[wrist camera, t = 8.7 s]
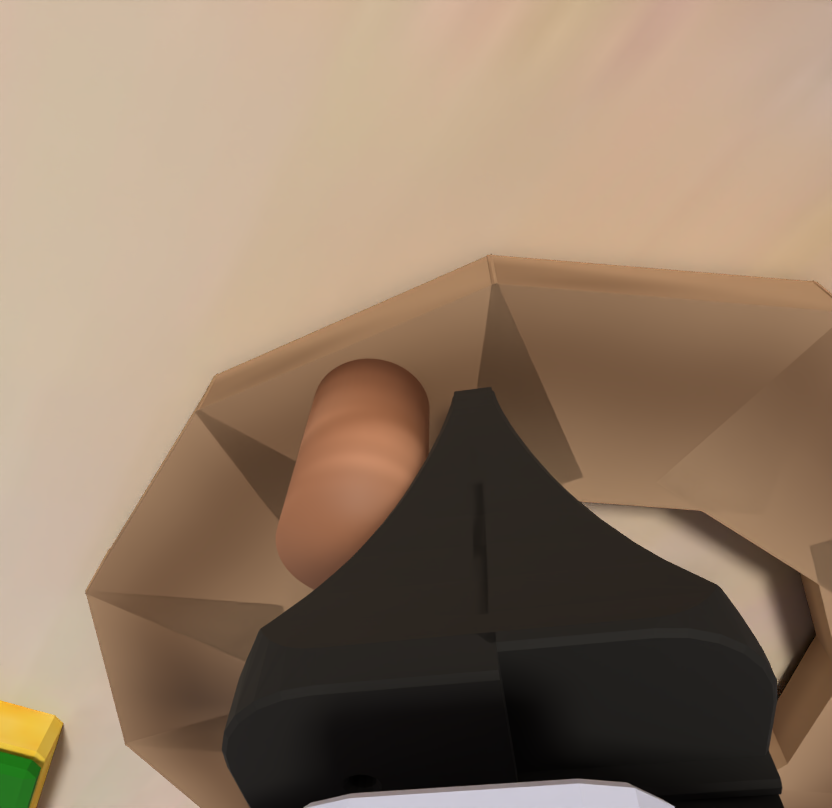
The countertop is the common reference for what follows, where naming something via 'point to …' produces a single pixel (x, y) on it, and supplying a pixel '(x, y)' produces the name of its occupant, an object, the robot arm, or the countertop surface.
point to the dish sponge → (25, 753)
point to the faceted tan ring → (413, 440)
